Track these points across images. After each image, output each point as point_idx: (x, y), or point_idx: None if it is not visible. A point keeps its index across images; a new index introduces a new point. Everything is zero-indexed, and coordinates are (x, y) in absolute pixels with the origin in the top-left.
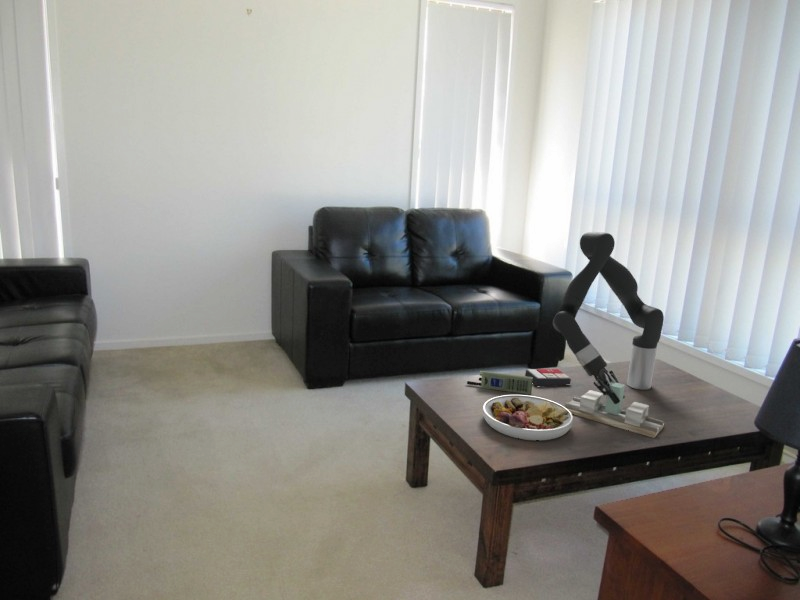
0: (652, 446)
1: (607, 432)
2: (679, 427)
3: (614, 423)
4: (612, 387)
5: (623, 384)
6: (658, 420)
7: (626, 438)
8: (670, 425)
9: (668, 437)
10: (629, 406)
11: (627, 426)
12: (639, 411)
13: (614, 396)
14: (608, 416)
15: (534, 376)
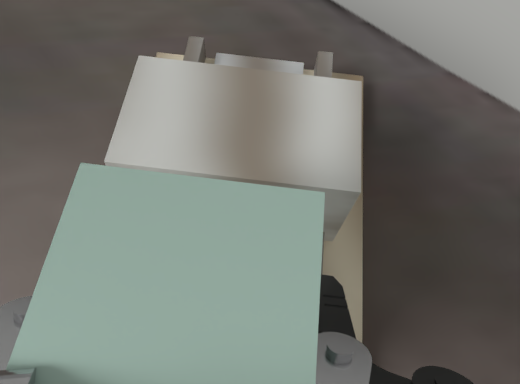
0: (469, 86)
1: (496, 335)
2: (129, 12)
3: (360, 312)
4: (312, 362)
5: (77, 189)
6: (197, 57)
7: (484, 208)
8: (124, 44)
9: (298, 40)
10: (271, 179)
11: (358, 218)
12: (334, 96)
13: (338, 315)
14: None
15: None
